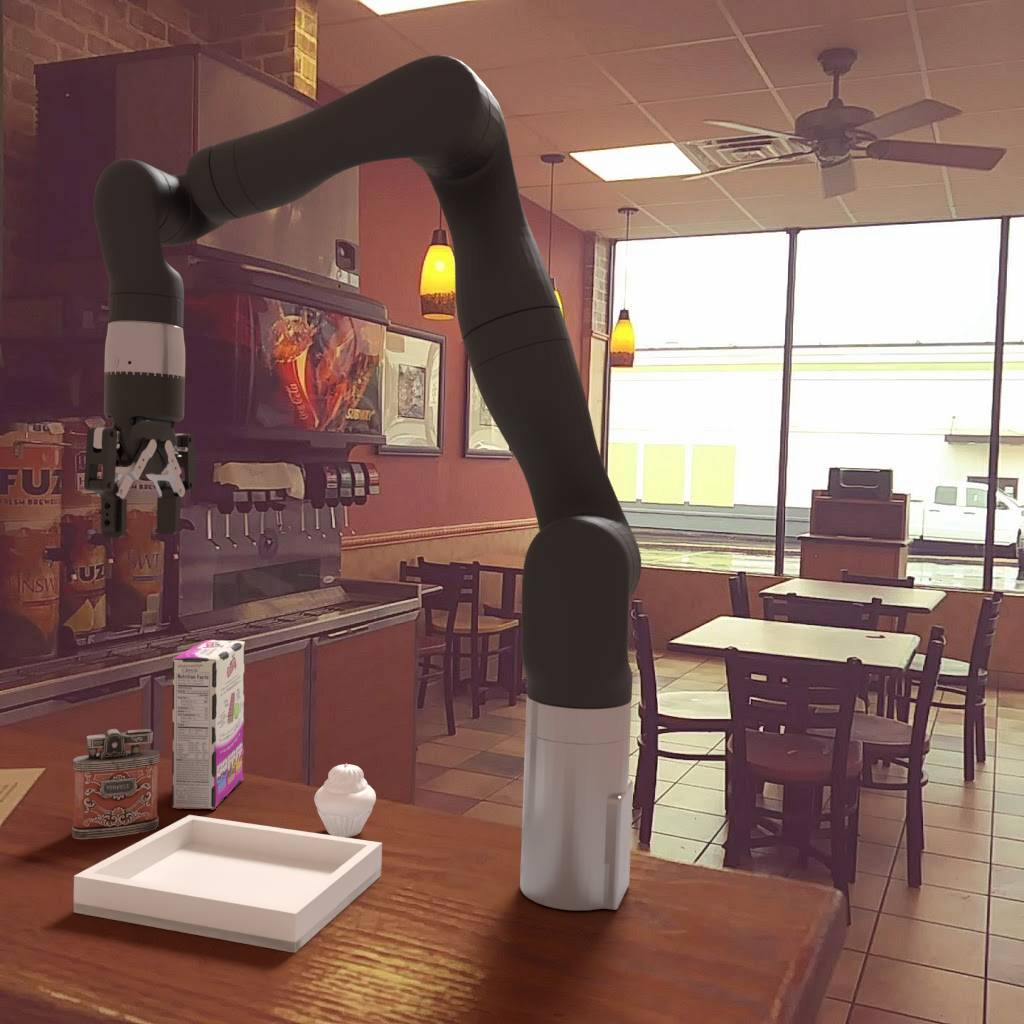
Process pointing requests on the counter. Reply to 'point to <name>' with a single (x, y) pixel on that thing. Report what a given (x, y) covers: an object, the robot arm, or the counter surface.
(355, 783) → the muffin
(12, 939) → the counter surface
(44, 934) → the counter surface
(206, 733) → the candy bar box
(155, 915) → the tray
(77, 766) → the lighter
